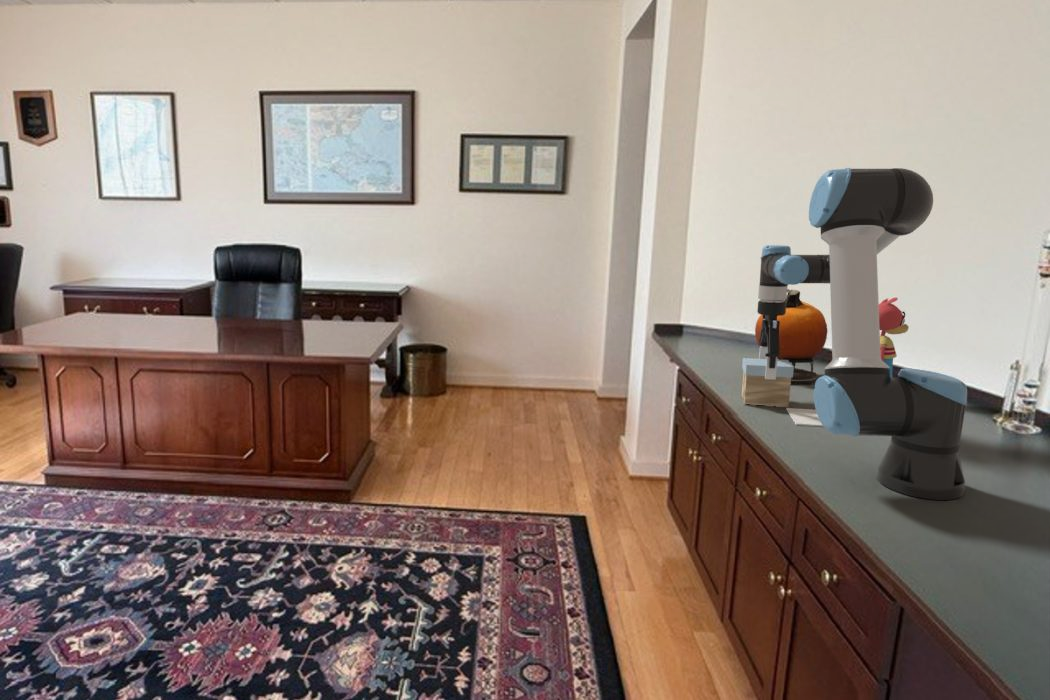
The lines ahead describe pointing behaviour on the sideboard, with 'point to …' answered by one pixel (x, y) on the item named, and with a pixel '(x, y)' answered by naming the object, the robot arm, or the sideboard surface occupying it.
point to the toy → (890, 329)
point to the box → (766, 390)
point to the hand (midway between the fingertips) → (766, 373)
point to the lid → (759, 367)
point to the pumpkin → (799, 336)
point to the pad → (804, 417)
